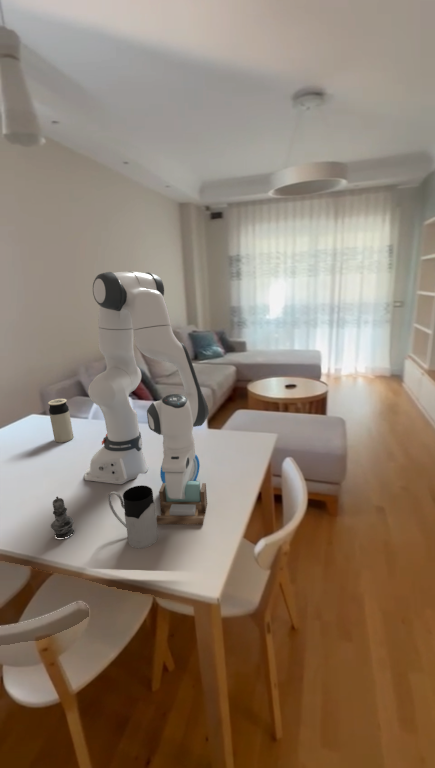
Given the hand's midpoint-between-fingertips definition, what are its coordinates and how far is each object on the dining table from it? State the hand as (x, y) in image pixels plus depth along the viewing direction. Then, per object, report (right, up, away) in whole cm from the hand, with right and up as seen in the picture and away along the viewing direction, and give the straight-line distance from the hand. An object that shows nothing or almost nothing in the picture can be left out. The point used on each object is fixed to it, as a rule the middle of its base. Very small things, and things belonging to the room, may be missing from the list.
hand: (183, 494), depth 111 cm
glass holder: (-12, -10, -9) cm, 18 cm away
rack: (0, -7, -1) cm, 7 cm away
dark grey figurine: (-33, -10, -5) cm, 35 cm away
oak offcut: (0, -6, -3) cm, 6 cm away
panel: (0, -4, +1) cm, 5 cm away
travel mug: (-59, +7, +59) cm, 83 cm away
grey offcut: (0, -4, -3) cm, 5 cm away
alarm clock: (-2, -2, +15) cm, 15 cm away
